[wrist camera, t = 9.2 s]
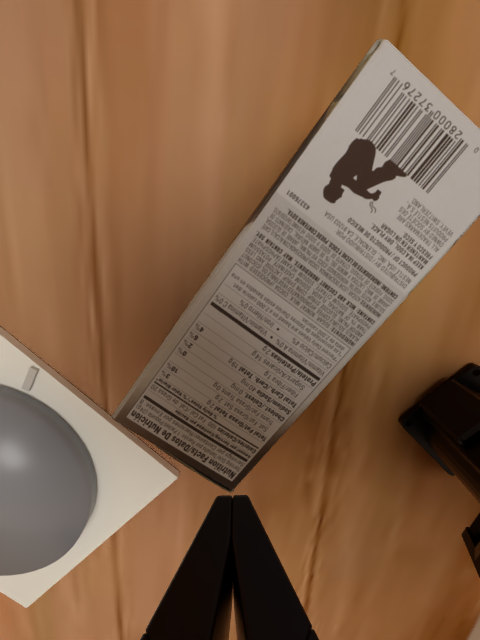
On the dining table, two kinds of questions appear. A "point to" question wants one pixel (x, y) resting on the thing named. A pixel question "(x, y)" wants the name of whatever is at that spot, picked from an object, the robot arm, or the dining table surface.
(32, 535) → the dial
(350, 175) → the coffee box
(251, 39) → the dining table surface
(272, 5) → the dining table surface
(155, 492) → the panel
